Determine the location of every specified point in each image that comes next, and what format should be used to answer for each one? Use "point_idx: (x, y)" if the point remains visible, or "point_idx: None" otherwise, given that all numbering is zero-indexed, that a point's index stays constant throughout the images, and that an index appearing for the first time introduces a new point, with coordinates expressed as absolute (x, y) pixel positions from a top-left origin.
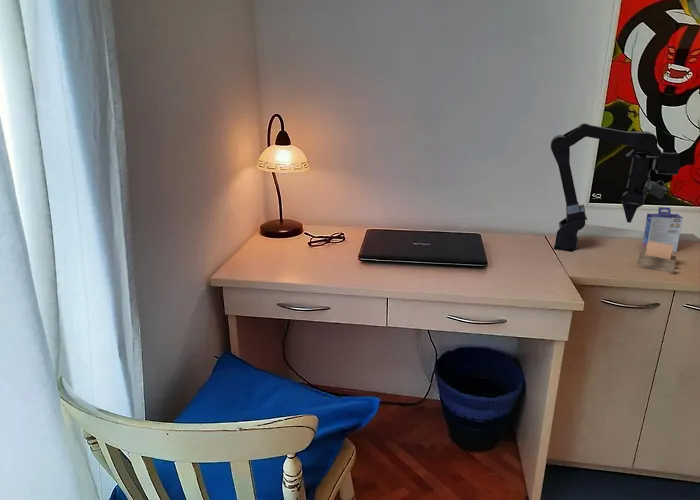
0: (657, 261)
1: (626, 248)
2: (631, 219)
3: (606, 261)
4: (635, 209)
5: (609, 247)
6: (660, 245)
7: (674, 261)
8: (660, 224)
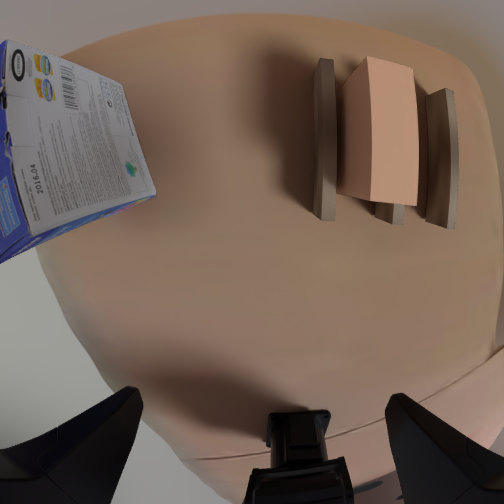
0: (451, 152)
1: (173, 274)
2: (423, 409)
3: (384, 323)
4: (500, 463)
5: (199, 333)
6: (415, 131)
7: None
8: (52, 153)
